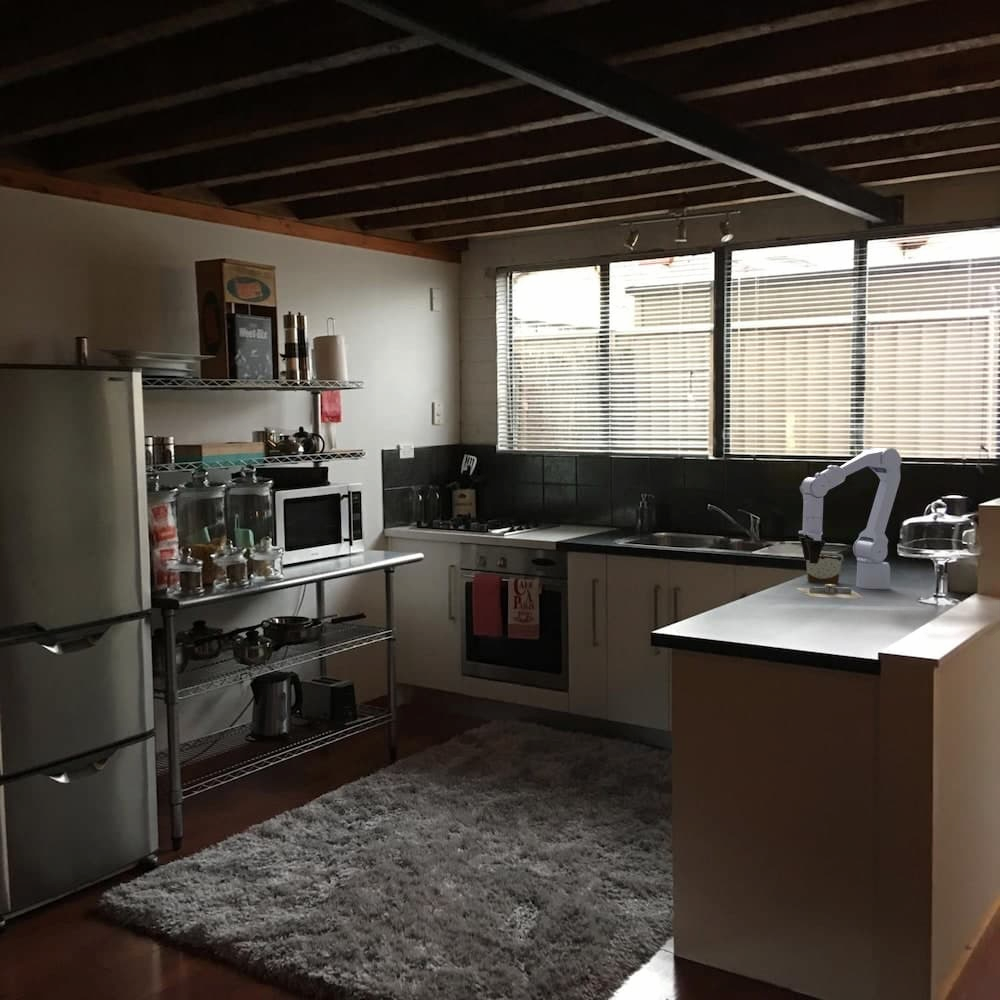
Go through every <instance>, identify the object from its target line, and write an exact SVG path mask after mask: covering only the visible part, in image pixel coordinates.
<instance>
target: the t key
mask: <svg viewBox="0 0 1000 1000" xmlns="http://www.w3.org/2000/svg"><path fill="white" fill-rule="evenodd" d="M827 587H828V586H825V585H824V586H809V587H808V588H809V592H810V593H826V594H837V593H841V594H851V590H852V588H851V587H847V586H846V587H845V586H844V587H839V586H838V587H837V586H835V587H833V588H827Z"/></svg>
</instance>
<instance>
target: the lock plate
mask: <svg viewBox="0 0 1000 1000" xmlns="http://www.w3.org/2000/svg"><path fill="white" fill-rule="evenodd" d="M825 586H828V587H827V588H833V587H837V585H836V584H835V583H824V587H825ZM796 589H798V590H799V591H800V592H801V593H803V594H804V595H806V596H807V597H809V598H835V599H836V598H838V599H840V598H843V599H844V598H845V599H865V597H864V596H862V595H861V594H859V593H858V592H856V591H854V590H853V589H851V594H841V593H837V594H826V593H810V592H809V587H797V588H796Z"/></svg>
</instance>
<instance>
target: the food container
mask: <svg viewBox="0 0 1000 1000" xmlns="http://www.w3.org/2000/svg"><path fill="white" fill-rule="evenodd" d="M803 561H805V567H806V580H807V583H815V584H816V583H817V584H818V583H819V584H820V583H822V584H823V583H824V584H839V583H840V577H841V569H842V563H843V562H845V560H844V556H843V554H841V553H836V552H826V551H825V552H824V551H821V553H820V557H819V561H818V564H811V563H810V560H805V559H804V558H803Z"/></svg>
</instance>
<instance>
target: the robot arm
mask: <svg viewBox="0 0 1000 1000" xmlns="http://www.w3.org/2000/svg"><path fill="white" fill-rule="evenodd" d="M902 461H903V458H902V457H901V455H900V453H899V452H898V450H897V449H895V448H893V447H892V448H889V447H888V448H883V447H882V448H879V447H874V446H873V447H870V448H869V449H866V450H863V451H862V452H861V453H860V454H858V455H856V456H855V457H854V458H853V457H852V459H850V460H848V461H847V462H845V463H844V464H842V465H841V466H839V465H836V464H835V465H832V464H830V465H828V466H827V469H825V470H823V471H821V472H816V473H815V474H814V476H813V477H809V476H807V477H806V478H804V480H803V481H802V482H801V485H800V486H799V490H800V493H801V495H802V500H803V501H802V503H803V504H802V505H803V507H802V509H803V510H802V530H799V531H798V534H799V535H803V536H798V541H799V543H800V545H801V548H802V555H803V560H804V559H805V560H804V561H806V560H810V563H811V564H818V561H819V557H820V553H821V552H822V550H823V548H824V547H825V545H826V541H825V540H822V535H824V534H823V533H824V532H823V518H824V517H823V515H824V514H823V513H824V496H826V495H827V493H828V492H829V490H831V489H833V488H835V487H837V486H839V485H840V484H842V483H844V482H845V480H846V477H847V476H849V475H851V474H853V473H856V472H857V471H860V470H862V469H864V468H866V467H869V468H870V469H871V470H872V471H873V472H874V473H875V474H876V475H877V477H878V478H879V485H878V486H877V487H878V488H877V491H876V494H875V498H874V500H873V501H874V502H873V504H872V508H871V512H870V514H869V518H868V521H867V524H866V528H865V529H864V530H862V531H860V533H859V534H858V538H857V539H856V540H855V542H854V544H853V546H852V552H853V555H854V556H855V557H856V559H855V560H856V564H857V565H856V585H855V586H856V588H860V589H865V590H868V589H869V590H872V589H873V590H890V587H891V586H890V581H891V566H890V564H889V562H887V561H886V562H885V561H884V560H885V559H886V557H887V556H888V552H889V551H888V543H889V539H888V537H887V536H886V533H885V532H886V528H887V525H888V522H889V518H890V515H891V512H892V509H893V506H894V502H895V499H896V496H897V491H898V488H899V485H900V481H901V464H902Z"/></svg>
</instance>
